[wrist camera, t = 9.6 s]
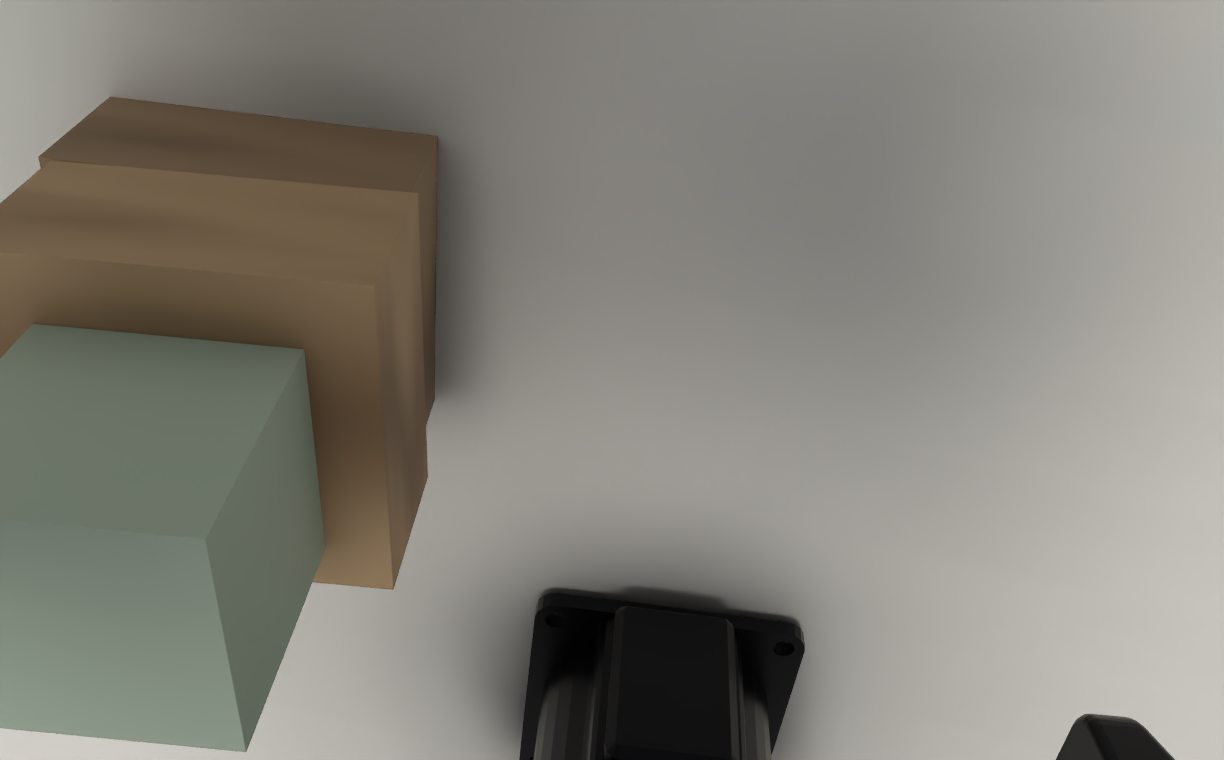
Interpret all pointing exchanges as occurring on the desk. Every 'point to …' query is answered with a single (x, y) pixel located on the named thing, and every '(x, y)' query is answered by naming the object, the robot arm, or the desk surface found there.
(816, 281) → the desk surface
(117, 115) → the block
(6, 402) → the sage block
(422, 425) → the brown square block
